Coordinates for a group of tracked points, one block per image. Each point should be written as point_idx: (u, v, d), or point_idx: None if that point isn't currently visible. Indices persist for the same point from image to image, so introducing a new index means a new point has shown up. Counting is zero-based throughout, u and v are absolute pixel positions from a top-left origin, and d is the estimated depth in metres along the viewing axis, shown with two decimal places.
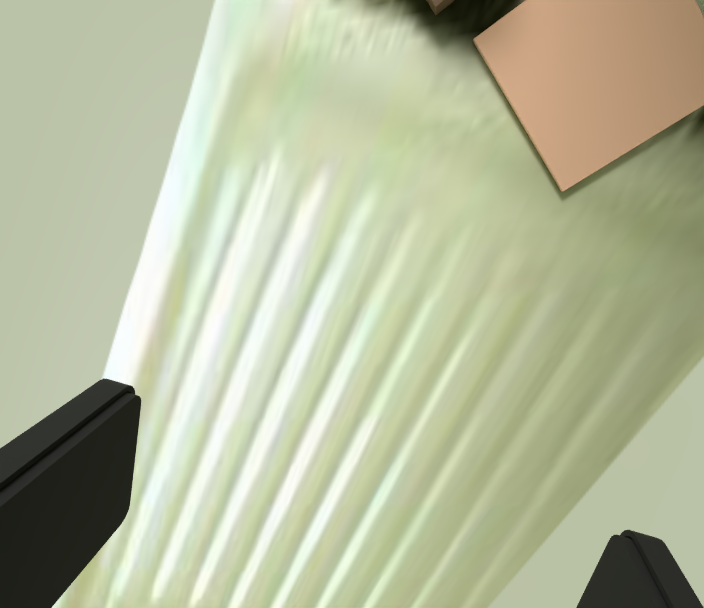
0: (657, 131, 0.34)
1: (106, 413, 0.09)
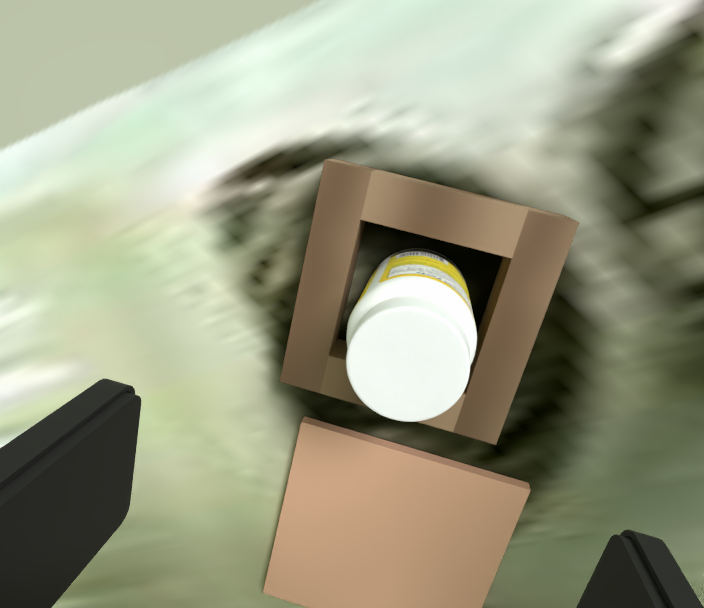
0: None
1: (106, 413, 0.09)
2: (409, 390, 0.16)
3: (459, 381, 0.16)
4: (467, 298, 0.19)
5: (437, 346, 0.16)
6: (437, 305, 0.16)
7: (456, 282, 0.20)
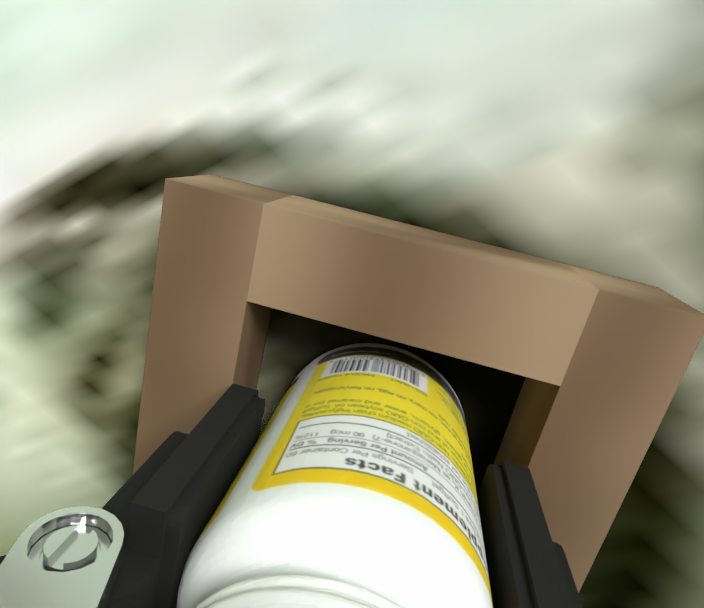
0: None
1: (246, 415, 0.10)
2: None
3: None
4: (468, 499, 0.08)
5: None
6: None
7: (443, 458, 0.09)
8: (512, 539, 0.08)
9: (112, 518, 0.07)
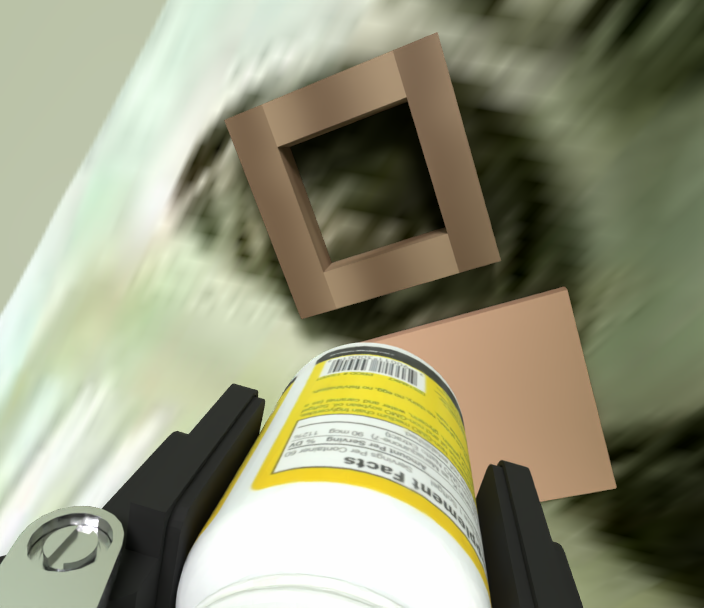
0: None
1: (246, 415, 0.10)
2: None
3: None
4: (467, 497, 0.08)
5: None
6: None
7: (442, 457, 0.09)
8: (512, 539, 0.08)
9: (112, 518, 0.07)
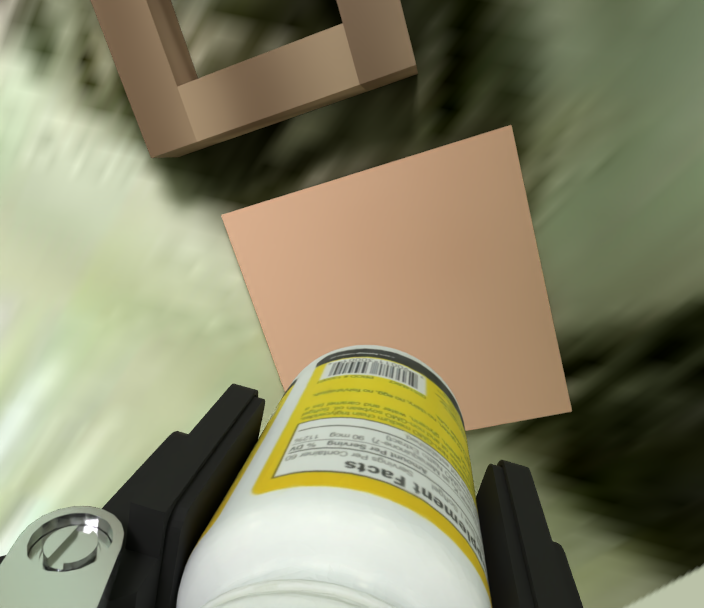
0: None
1: (246, 415, 0.10)
2: None
3: None
4: (468, 501, 0.08)
5: None
6: None
7: (442, 461, 0.09)
8: (512, 539, 0.08)
9: (112, 518, 0.07)
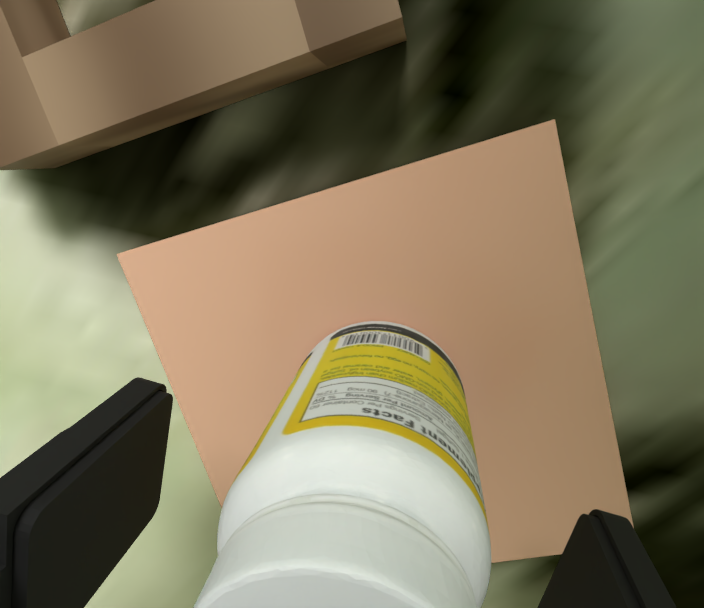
0: None
1: (142, 410, 0.09)
2: None
3: None
4: (468, 447, 0.10)
5: None
6: (401, 530, 0.07)
7: (446, 413, 0.10)
8: None
9: None
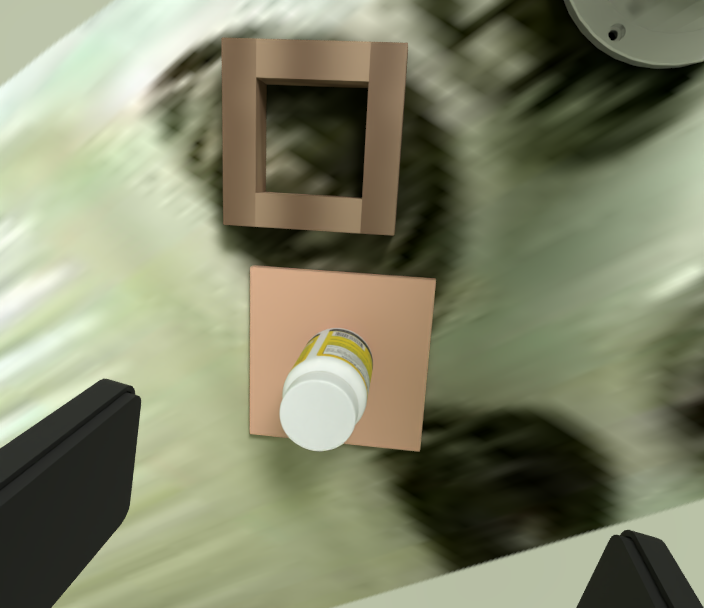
0: (345, 442, 0.35)
1: (106, 413, 0.09)
2: (314, 430, 0.26)
3: (345, 434, 0.26)
4: (368, 380, 0.29)
5: (338, 410, 0.26)
6: (347, 385, 0.26)
7: (365, 367, 0.30)
8: None
9: None
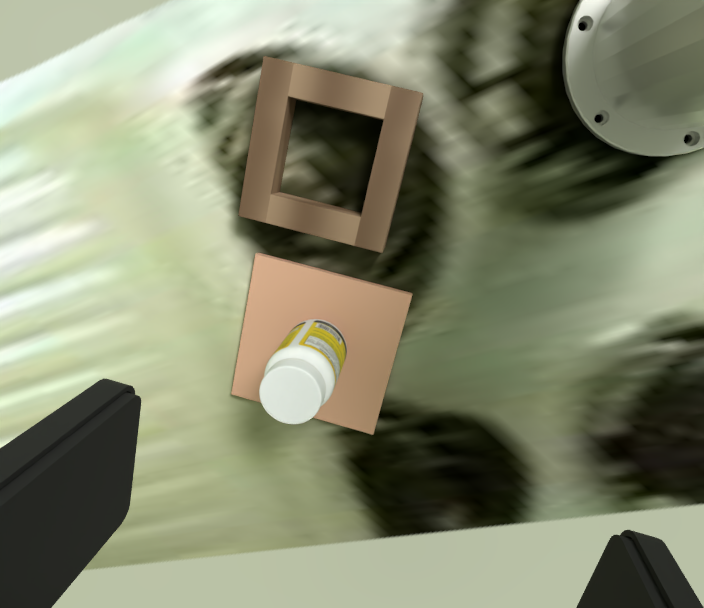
0: None
1: (106, 413, 0.09)
2: (285, 406, 0.31)
3: (310, 414, 0.31)
4: (338, 371, 0.35)
5: (308, 394, 0.31)
6: (319, 374, 0.32)
7: (337, 360, 0.35)
8: None
9: None
